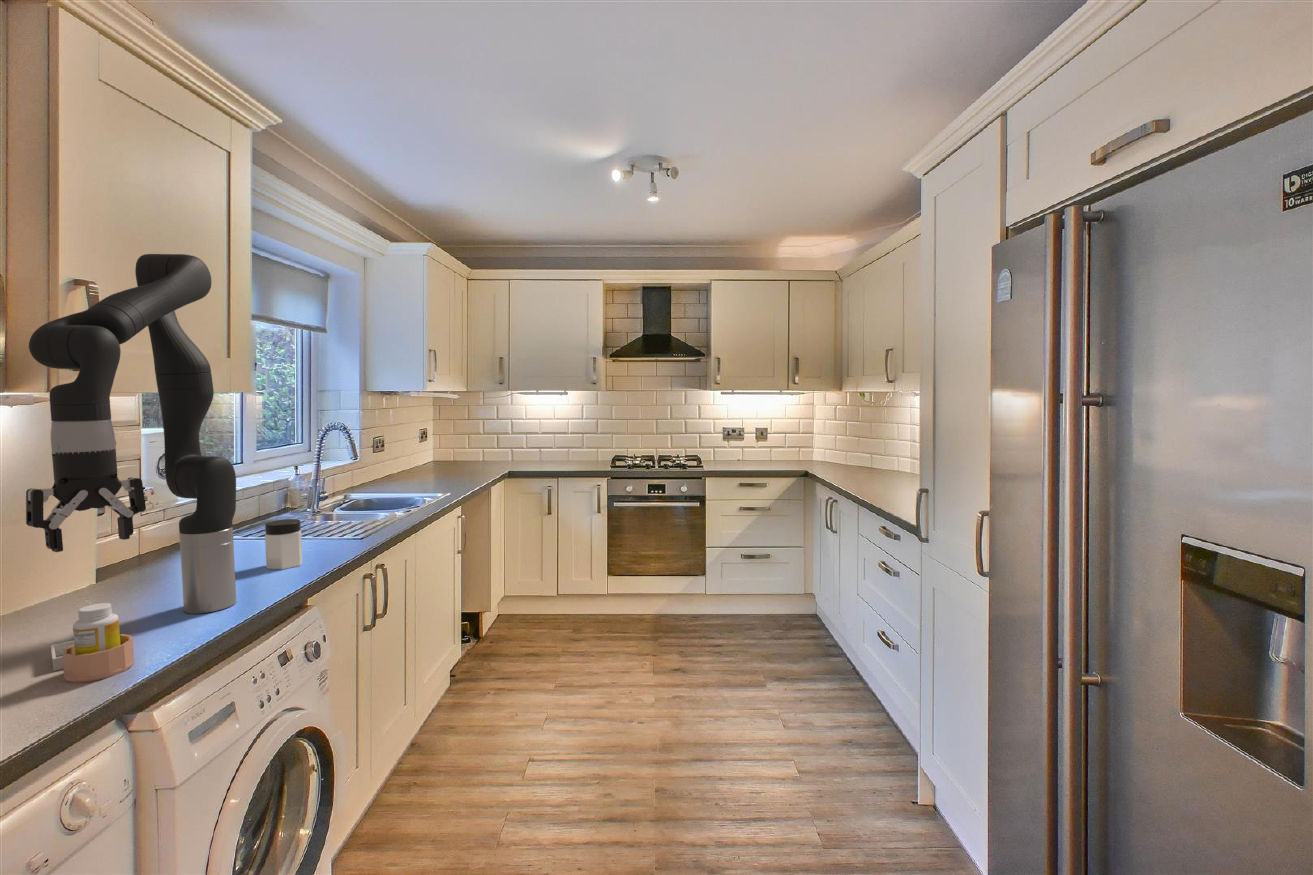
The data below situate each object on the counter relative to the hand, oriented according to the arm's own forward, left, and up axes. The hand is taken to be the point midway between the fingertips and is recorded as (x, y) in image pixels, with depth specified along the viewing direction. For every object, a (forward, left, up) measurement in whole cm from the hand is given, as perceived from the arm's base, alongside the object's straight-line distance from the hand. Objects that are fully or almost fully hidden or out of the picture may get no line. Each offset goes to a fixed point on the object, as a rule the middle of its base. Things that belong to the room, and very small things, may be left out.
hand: (92, 544), depth 97 cm
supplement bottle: (0, 0, -21) cm, 21 cm away
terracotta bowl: (0, 0, -22) cm, 22 cm away
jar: (-61, +7, -22) cm, 65 cm away
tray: (-7, -7, -22) cm, 24 cm away
